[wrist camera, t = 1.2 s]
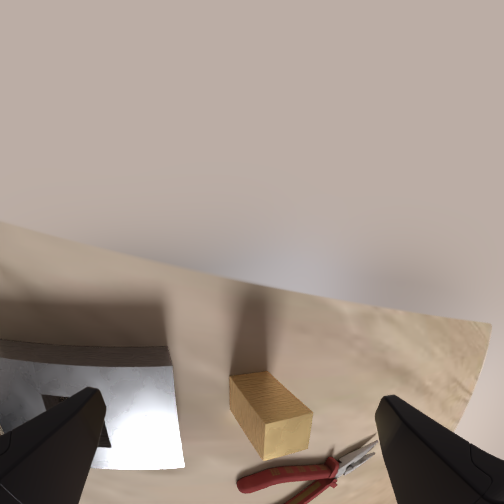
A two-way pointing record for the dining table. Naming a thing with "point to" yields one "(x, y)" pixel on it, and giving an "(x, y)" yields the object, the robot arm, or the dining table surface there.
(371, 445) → the pliers
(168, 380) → the grey block with hole
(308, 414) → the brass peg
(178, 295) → the dining table surface
